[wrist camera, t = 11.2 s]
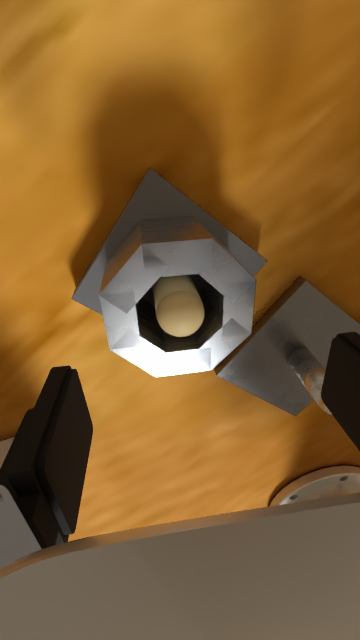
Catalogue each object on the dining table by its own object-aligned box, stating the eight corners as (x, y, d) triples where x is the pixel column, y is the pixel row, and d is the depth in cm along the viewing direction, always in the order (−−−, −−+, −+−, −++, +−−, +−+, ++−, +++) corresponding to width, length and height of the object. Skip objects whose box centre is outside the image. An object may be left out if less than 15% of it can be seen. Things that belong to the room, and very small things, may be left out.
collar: (229, 212, 16) (260, 234, 12) (225, 321, 19) (248, 365, 15) (100, 222, 15) (89, 248, 11) (119, 333, 18) (116, 382, 14)
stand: (372, 334, 23) (442, 389, 18) (290, 408, 26) (329, 473, 21) (299, 275, 20) (359, 322, 15) (213, 367, 23) (237, 433, 18)
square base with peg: (258, 252, 18) (312, 299, 13) (181, 344, 21) (198, 415, 16) (149, 167, 15) (159, 180, 10) (75, 287, 18) (50, 351, 12)
